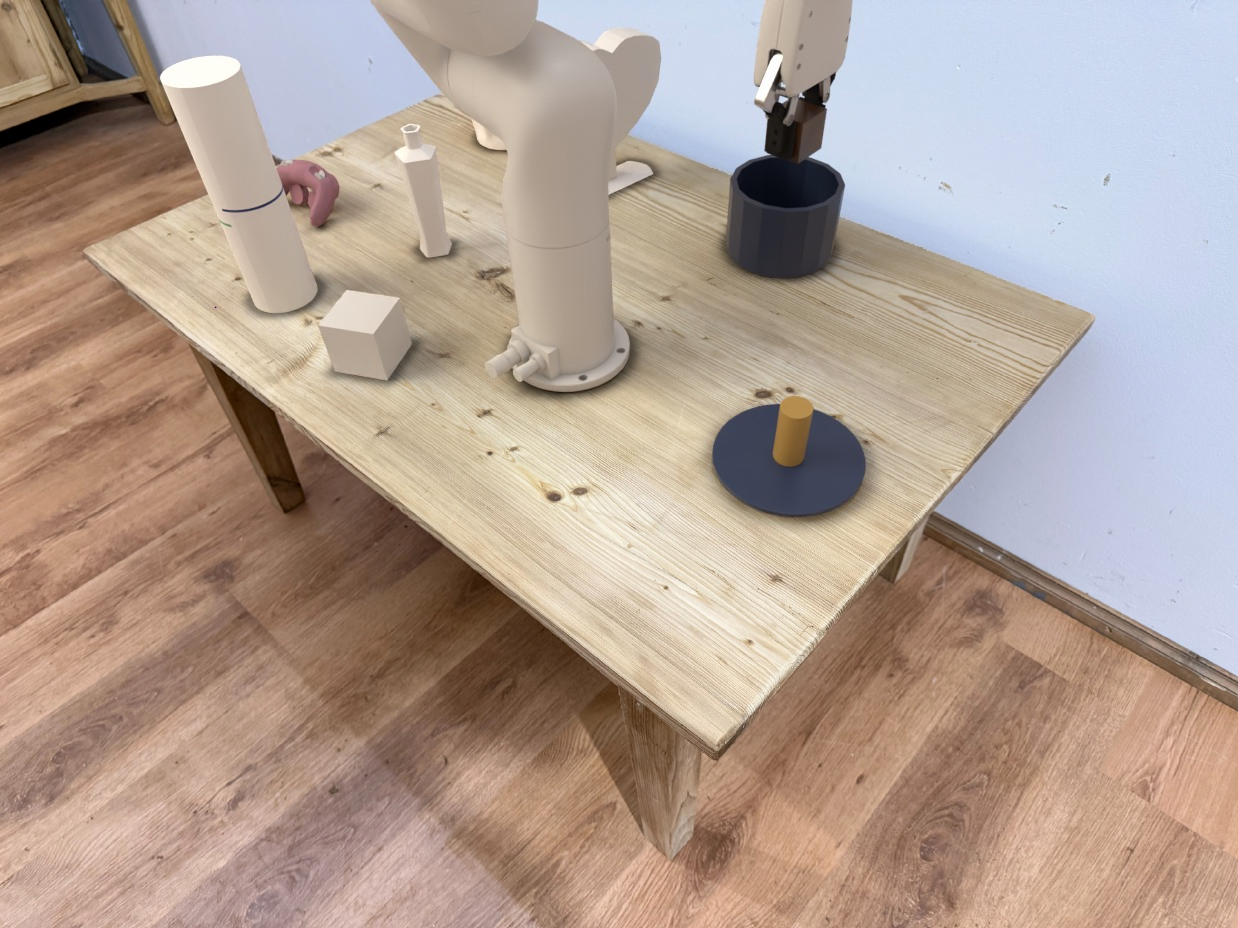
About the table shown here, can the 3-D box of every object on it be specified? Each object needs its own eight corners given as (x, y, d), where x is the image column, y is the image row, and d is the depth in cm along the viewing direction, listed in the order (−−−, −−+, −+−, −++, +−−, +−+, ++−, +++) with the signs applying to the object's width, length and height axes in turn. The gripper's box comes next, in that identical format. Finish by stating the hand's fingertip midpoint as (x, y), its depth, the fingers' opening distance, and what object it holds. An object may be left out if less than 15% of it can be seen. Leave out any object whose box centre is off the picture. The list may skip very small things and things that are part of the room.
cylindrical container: (300, 316, 94) (215, 90, 76) (241, 309, 95) (144, 85, 77) (328, 279, 99) (254, 58, 80) (271, 273, 100) (186, 53, 81)
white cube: (361, 336, 91) (346, 289, 87) (412, 344, 90) (400, 297, 86) (334, 371, 87) (317, 325, 83) (387, 380, 86) (373, 333, 82)
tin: (791, 291, 94) (801, 224, 88) (705, 251, 100) (708, 185, 94) (852, 244, 100) (866, 178, 94) (767, 208, 106) (774, 144, 100)
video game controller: (342, 227, 109) (347, 171, 106) (314, 228, 105) (318, 170, 102) (289, 207, 113) (292, 153, 110) (260, 207, 109) (262, 151, 106)
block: (797, 164, 90) (803, 124, 86) (763, 151, 92) (767, 111, 88) (821, 148, 92) (827, 108, 88) (787, 136, 94) (792, 97, 90)
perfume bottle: (409, 255, 101) (380, 135, 90) (428, 236, 104) (402, 117, 93) (442, 263, 100) (417, 141, 89) (461, 243, 103) (438, 123, 92)
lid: (806, 548, 70) (819, 492, 65) (681, 468, 77) (683, 412, 72) (892, 459, 77) (910, 401, 72) (770, 392, 83) (778, 335, 78)
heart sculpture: (639, 155, 117) (637, 16, 103) (664, 169, 114) (665, 27, 101) (549, 196, 110) (535, 52, 97) (574, 211, 107) (563, 65, 94)
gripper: (832, -73, 84) (808, 109, 97) (726, -25, 76) (716, 166, 89) (900, -58, 80) (865, 128, 94) (796, -6, 72) (775, 190, 86)
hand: (793, 145), depth 91 cm, fingers closed on block, 4 cm apart
